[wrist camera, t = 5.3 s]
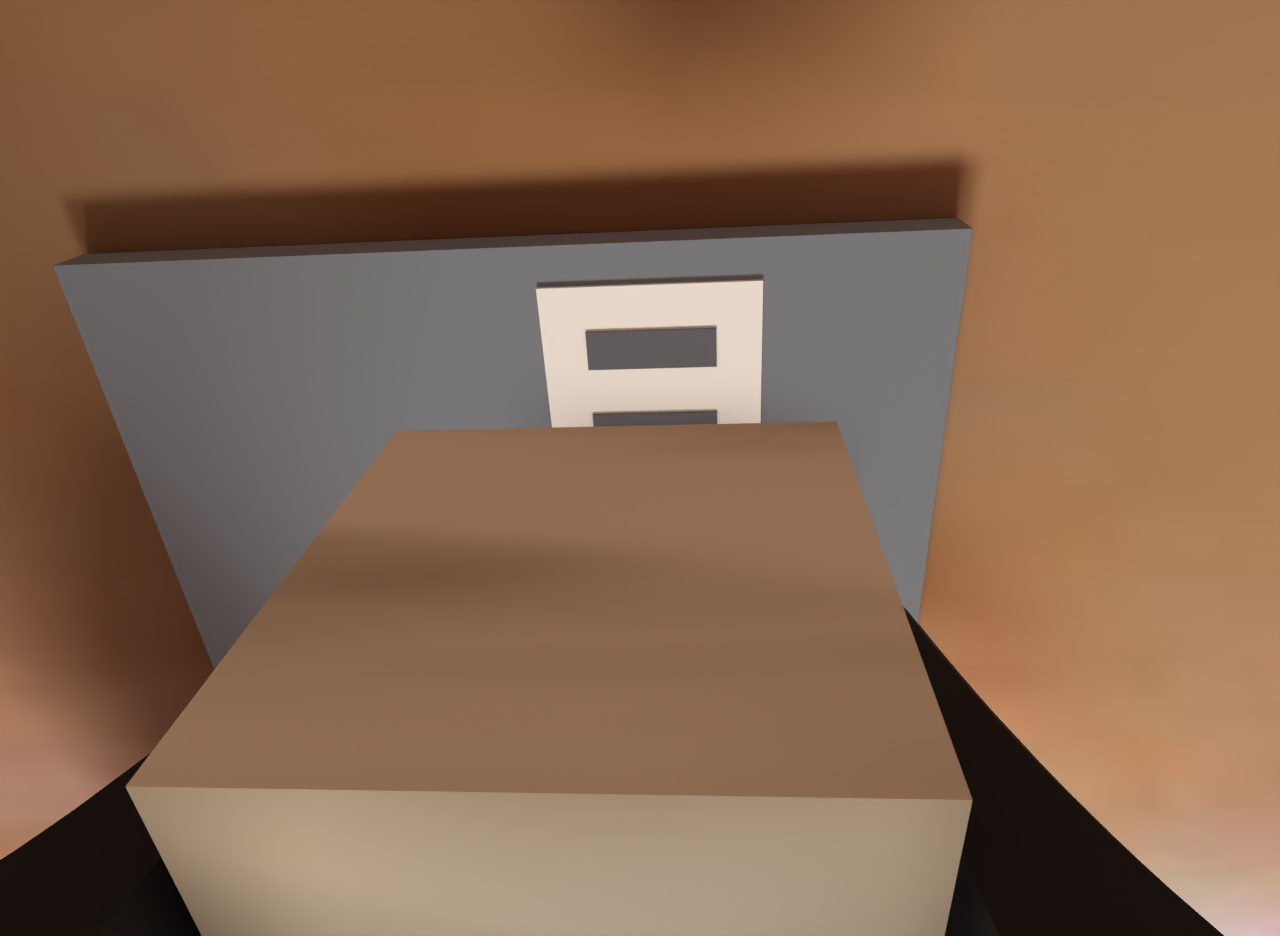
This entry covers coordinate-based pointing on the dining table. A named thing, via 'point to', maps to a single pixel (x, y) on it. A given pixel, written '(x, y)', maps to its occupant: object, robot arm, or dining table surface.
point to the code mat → (506, 367)
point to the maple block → (573, 705)
